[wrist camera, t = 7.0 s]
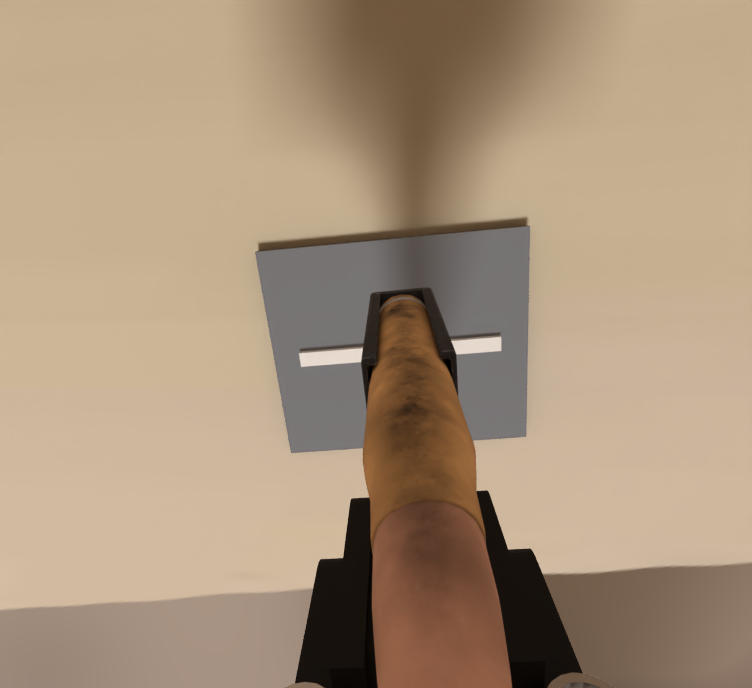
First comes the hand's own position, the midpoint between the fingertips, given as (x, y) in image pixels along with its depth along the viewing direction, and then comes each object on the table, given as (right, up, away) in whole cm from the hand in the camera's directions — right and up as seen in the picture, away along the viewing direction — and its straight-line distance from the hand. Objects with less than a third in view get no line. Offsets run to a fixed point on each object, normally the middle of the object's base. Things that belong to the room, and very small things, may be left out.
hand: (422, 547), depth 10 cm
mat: (0, +5, +14) cm, 15 cm away
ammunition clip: (0, +1, +5) cm, 5 cm away
